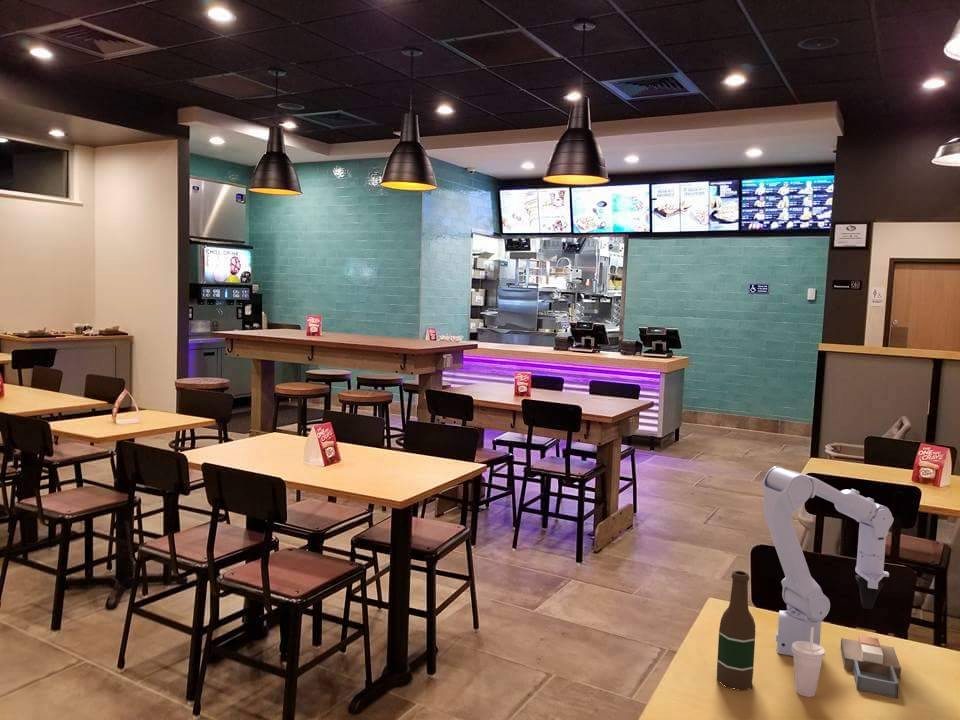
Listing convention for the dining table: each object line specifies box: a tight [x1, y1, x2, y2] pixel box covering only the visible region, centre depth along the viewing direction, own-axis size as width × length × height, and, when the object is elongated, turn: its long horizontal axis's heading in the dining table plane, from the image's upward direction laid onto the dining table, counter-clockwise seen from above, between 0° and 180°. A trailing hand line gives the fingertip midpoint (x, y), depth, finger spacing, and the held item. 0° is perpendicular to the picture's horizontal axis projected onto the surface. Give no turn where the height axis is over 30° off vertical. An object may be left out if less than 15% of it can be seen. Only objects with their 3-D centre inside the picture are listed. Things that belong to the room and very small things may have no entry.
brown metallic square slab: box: [840, 637, 902, 680], centre depth 166 cm, size 11×11×2 cm
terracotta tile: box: [857, 635, 881, 651], centre depth 168 cm, size 4×4×2 cm
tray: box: [852, 658, 900, 699], centre depth 157 cm, size 8×9×3 cm
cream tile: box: [860, 644, 883, 664], centre depth 163 cm, size 4×4×2 cm
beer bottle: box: [716, 570, 756, 691], centre depth 155 cm, size 8×8×24 cm
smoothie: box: [791, 627, 826, 698], centre depth 152 cm, size 6×6×14 cm
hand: (867, 607), depth 174 cm, fingers closed
